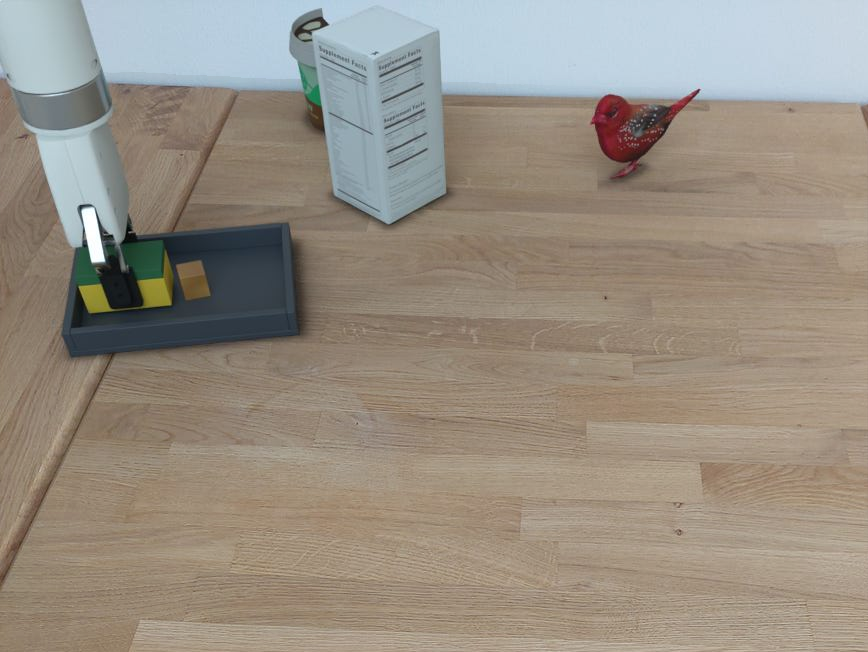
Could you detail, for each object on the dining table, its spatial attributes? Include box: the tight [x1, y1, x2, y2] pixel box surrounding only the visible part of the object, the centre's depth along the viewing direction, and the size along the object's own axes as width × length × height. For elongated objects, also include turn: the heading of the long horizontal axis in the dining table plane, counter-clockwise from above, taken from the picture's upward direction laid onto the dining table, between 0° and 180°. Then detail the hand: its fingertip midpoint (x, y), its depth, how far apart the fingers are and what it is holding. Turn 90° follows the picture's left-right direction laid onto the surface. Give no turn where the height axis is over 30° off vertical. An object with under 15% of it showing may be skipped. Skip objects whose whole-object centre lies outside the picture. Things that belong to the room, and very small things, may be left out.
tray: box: [60, 221, 300, 358], centre depth 96 cm, size 22×16×3 cm
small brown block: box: [176, 260, 211, 301], centre depth 95 cm, size 2×2×2 cm
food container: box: [288, 7, 330, 133], centre depth 114 cm, size 12×6×10 cm, turn 27°
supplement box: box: [312, 4, 447, 225], centre depth 101 cm, size 10×9×17 cm
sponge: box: [75, 240, 173, 313], centre depth 94 cm, size 8×5×4 cm, turn 99°
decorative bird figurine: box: [589, 88, 701, 180], centre depth 107 cm, size 3×18×10 cm, turn 130°
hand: (128, 287), depth 95 cm, fingers closed on sponge, 5 cm apart
